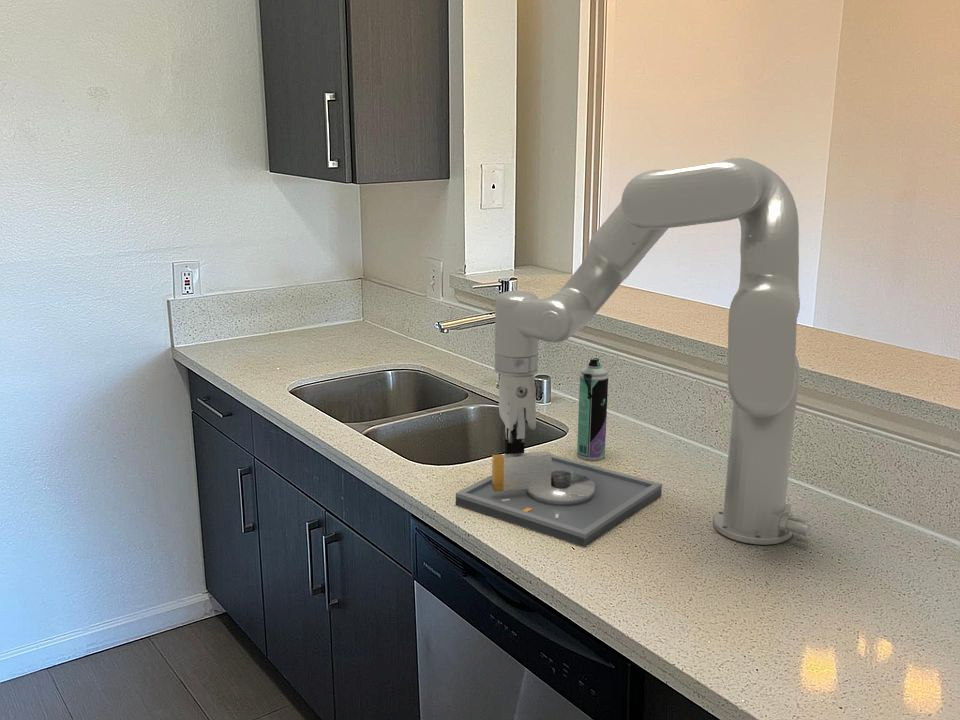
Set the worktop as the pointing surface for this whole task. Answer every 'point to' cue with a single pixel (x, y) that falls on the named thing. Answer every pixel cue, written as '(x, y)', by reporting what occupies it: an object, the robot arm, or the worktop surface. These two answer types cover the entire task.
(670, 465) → the worktop surface
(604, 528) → the panel
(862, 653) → the worktop surface
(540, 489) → the dial
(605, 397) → the spray can
